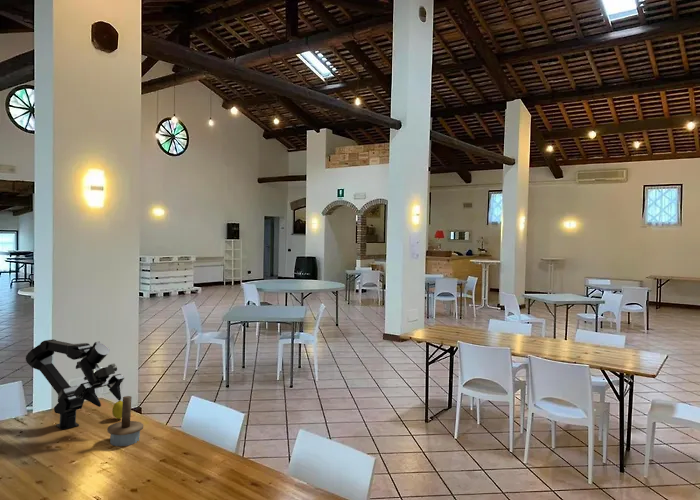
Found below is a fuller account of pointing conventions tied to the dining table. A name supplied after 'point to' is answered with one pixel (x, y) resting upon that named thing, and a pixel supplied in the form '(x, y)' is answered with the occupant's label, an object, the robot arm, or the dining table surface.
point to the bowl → (124, 439)
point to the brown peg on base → (125, 421)
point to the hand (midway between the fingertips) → (110, 402)
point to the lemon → (117, 409)
